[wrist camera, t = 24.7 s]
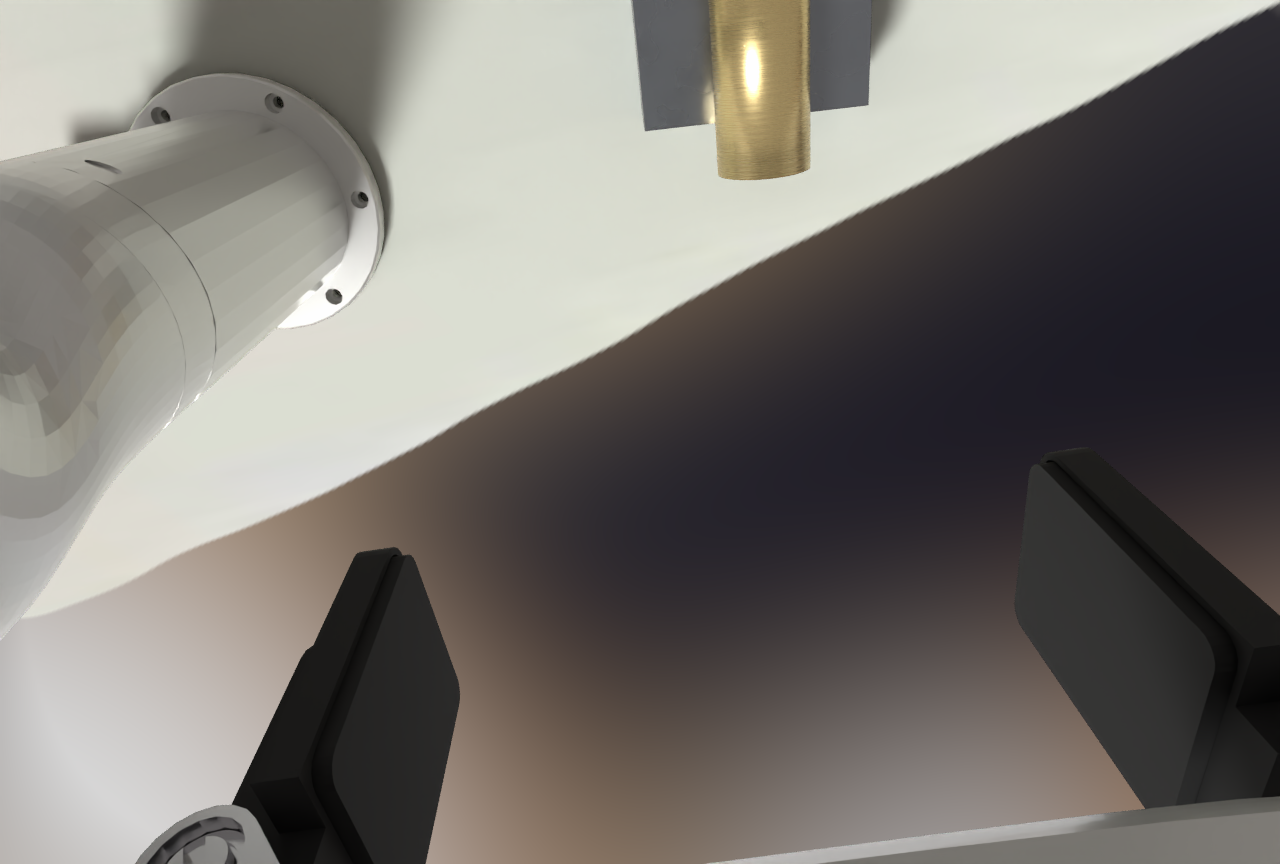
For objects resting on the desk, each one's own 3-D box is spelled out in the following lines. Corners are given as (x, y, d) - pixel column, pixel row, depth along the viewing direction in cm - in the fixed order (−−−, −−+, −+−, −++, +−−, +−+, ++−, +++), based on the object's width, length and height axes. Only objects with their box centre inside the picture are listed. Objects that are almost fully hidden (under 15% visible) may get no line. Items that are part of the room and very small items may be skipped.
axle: (787, 157, 36) (826, 169, 32) (705, 170, 35) (737, 184, 32) (782, -162, 30) (830, -189, 27) (685, -154, 29) (721, -180, 26)
